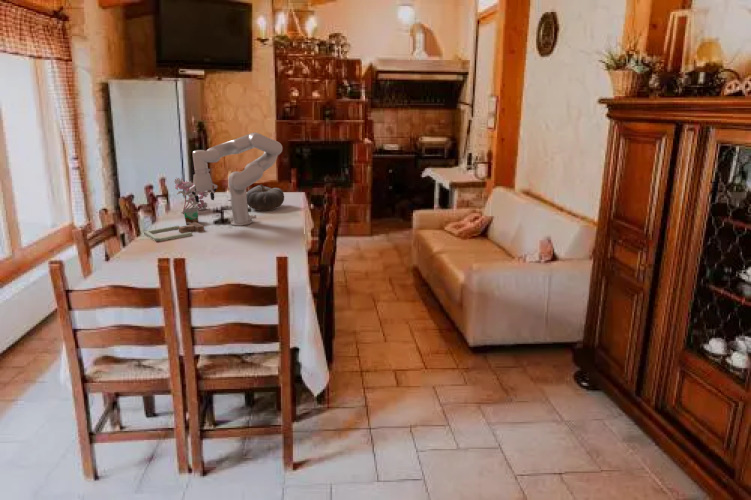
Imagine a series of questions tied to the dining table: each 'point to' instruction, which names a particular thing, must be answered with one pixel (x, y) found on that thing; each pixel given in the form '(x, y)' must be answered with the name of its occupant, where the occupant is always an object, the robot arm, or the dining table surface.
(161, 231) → the sage-green bay
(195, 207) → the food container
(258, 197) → the gourd
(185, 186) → the flower
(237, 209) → the robot arm
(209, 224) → the dining table surface
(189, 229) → the walnut T block
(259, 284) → the dining table surface
